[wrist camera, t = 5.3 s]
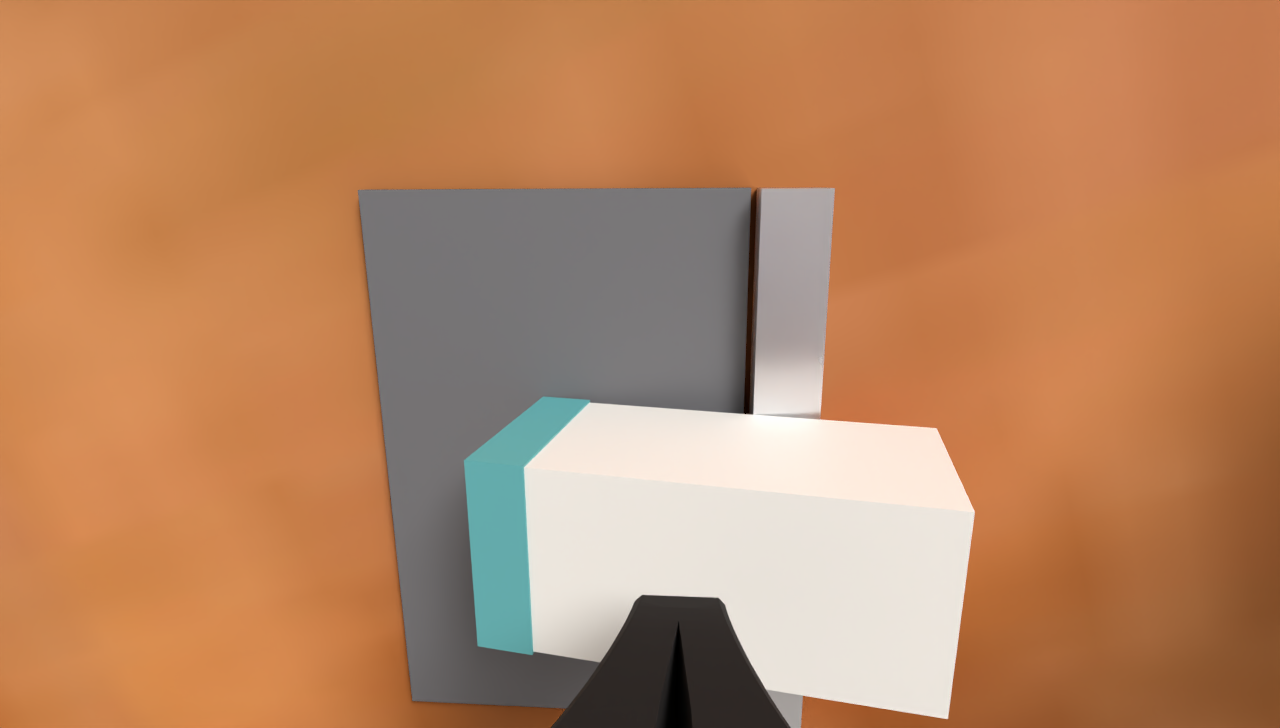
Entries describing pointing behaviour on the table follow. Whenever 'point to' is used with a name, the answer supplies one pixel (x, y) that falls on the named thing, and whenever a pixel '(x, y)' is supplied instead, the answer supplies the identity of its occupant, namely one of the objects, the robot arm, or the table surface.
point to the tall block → (728, 541)
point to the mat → (531, 367)
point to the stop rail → (790, 318)
